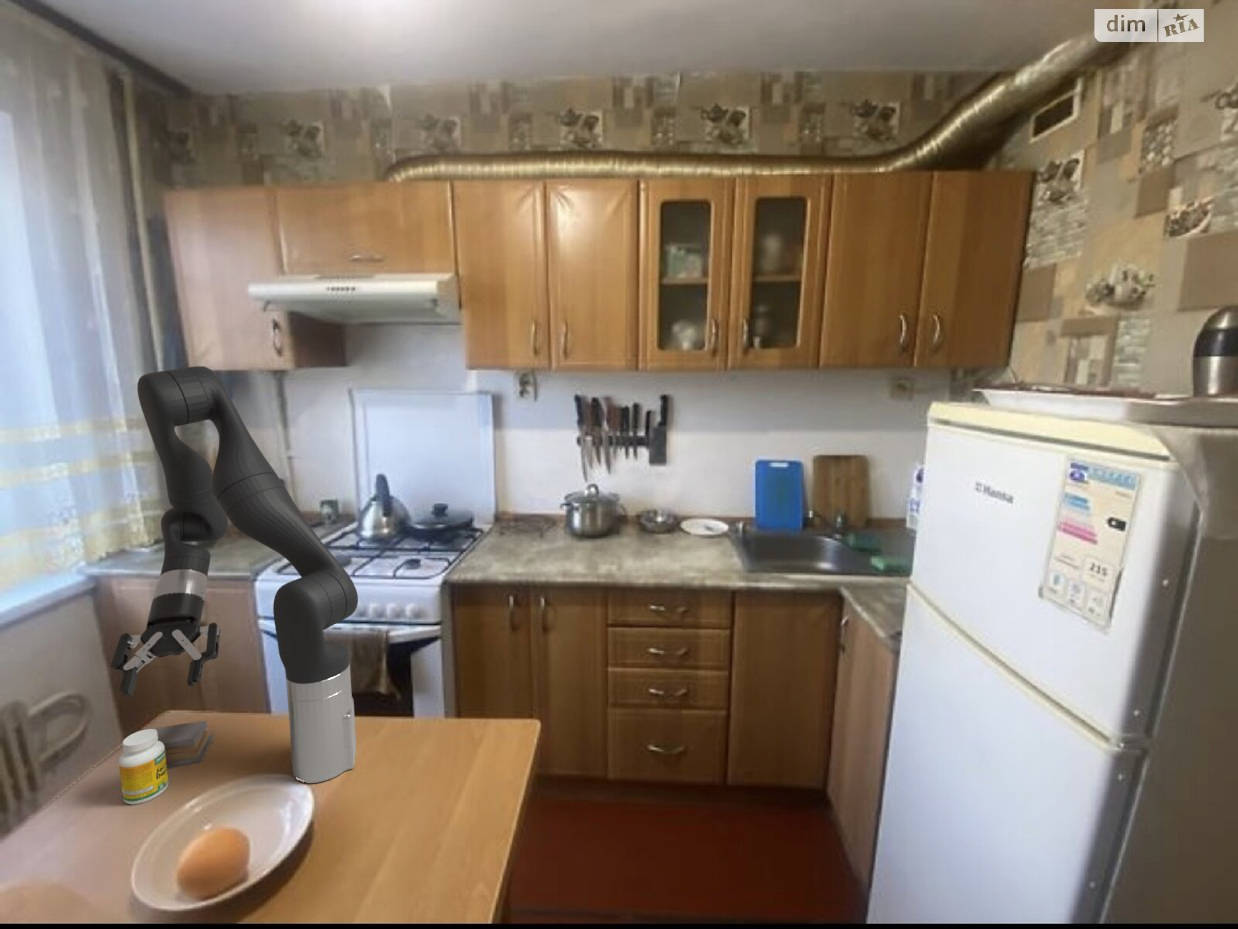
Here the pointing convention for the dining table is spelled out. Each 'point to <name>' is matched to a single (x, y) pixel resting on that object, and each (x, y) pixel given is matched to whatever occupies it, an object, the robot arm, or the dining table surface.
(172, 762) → the offcut stack
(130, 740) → the supplement bottle
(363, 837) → the dining table surface
